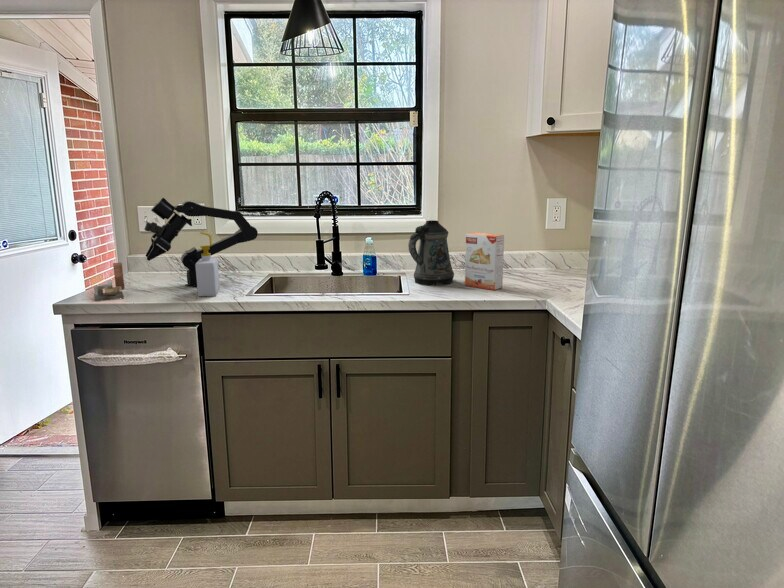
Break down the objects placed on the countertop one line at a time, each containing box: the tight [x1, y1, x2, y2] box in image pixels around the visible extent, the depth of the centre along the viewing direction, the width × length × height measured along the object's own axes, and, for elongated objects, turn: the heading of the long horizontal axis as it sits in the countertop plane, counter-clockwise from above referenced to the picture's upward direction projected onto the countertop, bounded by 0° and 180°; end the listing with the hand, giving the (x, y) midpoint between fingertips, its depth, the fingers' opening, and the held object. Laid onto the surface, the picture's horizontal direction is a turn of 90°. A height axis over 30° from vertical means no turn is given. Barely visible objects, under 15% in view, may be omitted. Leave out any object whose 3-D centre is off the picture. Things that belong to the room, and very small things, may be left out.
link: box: [104, 262, 126, 295], centre depth 214 cm, size 12×4×10 cm, turn 5°
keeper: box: [93, 280, 113, 296], centre depth 211 cm, size 6×7×6 cm
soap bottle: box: [195, 231, 221, 297], centre depth 215 cm, size 12×7×23 cm, turn 10°
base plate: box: [93, 290, 125, 302], centre depth 212 cm, size 10×9×1 cm
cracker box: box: [464, 231, 505, 291], centre depth 221 cm, size 14×6×21 cm, turn 47°
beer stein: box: [407, 219, 455, 287], centre depth 231 cm, size 16×19×25 cm
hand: (147, 258), depth 222 cm, fingers open, 9 cm apart
